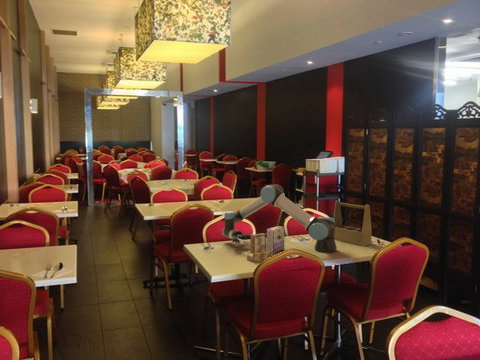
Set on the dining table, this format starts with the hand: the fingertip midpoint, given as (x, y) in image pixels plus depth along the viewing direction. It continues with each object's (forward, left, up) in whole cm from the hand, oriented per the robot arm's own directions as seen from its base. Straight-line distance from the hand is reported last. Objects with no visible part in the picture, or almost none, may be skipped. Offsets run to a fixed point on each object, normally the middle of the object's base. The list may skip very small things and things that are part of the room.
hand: (251, 241), depth 305 cm
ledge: (+5, +17, -8) cm, 19 cm away
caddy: (-82, +10, -8) cm, 83 cm away
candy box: (-16, +5, -8) cm, 19 cm away
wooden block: (0, +8, -8) cm, 11 cm away
